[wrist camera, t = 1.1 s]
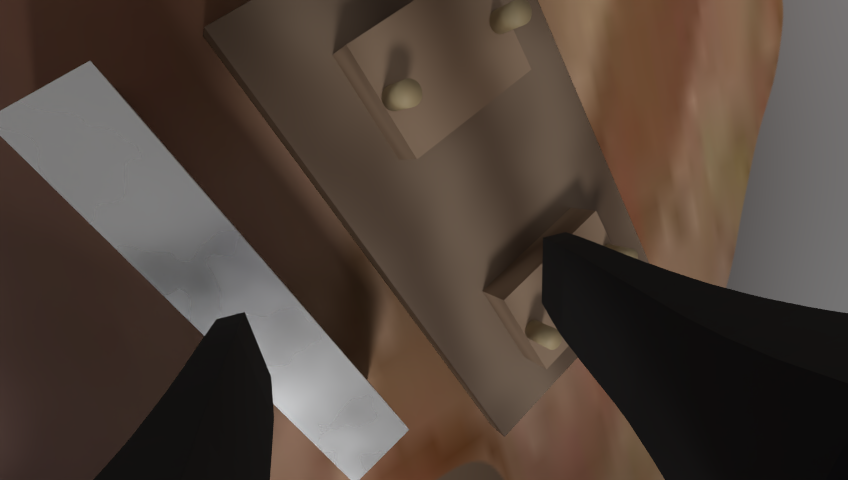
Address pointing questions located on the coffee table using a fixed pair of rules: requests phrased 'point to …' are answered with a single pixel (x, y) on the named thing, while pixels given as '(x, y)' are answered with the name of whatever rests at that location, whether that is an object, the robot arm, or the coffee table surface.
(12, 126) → the steel bar
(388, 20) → the board
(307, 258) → the coffee table surface
